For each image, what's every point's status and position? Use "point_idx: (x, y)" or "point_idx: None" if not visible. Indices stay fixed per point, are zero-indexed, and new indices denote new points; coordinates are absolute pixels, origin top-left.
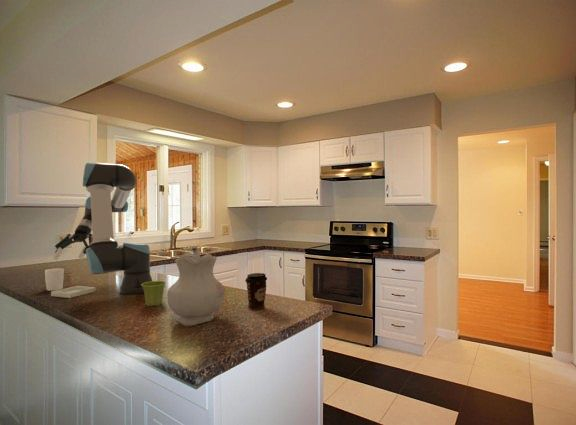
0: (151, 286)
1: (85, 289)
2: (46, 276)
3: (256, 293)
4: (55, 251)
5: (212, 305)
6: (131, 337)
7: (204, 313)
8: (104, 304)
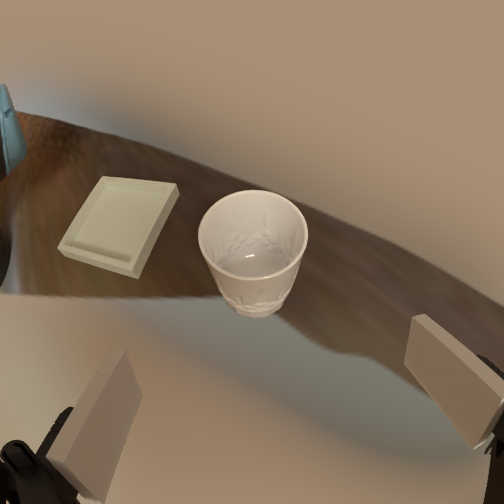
0: None
1: (76, 220)
2: (268, 215)
3: None
4: (491, 362)
5: None
6: (20, 115)
7: None
8: (34, 167)
